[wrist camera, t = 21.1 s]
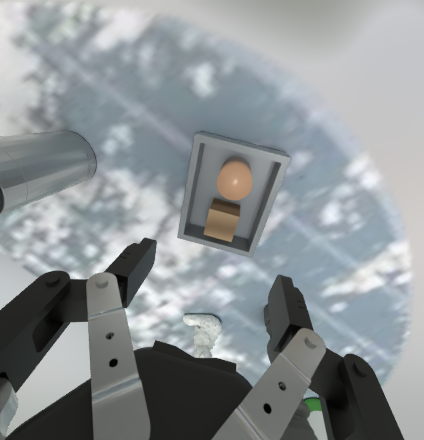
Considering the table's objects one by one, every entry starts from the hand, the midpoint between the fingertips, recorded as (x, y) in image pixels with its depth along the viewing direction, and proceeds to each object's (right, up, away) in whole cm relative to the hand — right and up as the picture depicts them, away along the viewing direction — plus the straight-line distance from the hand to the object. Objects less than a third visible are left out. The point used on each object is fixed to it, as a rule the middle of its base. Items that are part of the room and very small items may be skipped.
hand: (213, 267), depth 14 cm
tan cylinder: (+4, +11, +22) cm, 25 cm away
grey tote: (+3, +8, +25) cm, 26 cm away
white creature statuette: (-1, -23, +41) cm, 47 cm away
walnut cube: (+2, +4, +26) cm, 27 cm away
